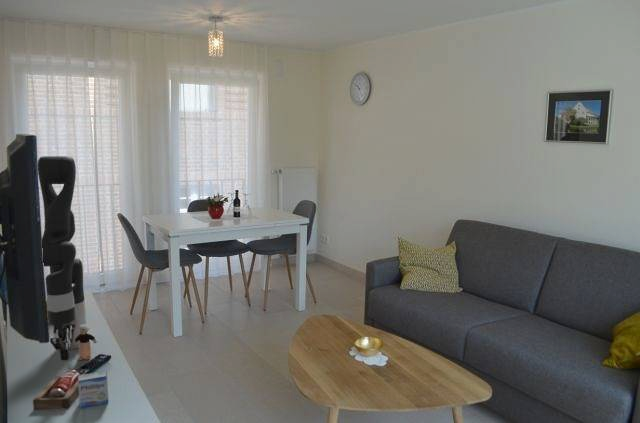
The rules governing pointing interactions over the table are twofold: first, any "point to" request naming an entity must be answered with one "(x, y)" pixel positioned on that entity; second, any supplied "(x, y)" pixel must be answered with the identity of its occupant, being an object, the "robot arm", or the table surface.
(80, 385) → the medicine box
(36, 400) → the u rest
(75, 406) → the table surface
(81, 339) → the grandmother figurine
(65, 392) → the soda can
